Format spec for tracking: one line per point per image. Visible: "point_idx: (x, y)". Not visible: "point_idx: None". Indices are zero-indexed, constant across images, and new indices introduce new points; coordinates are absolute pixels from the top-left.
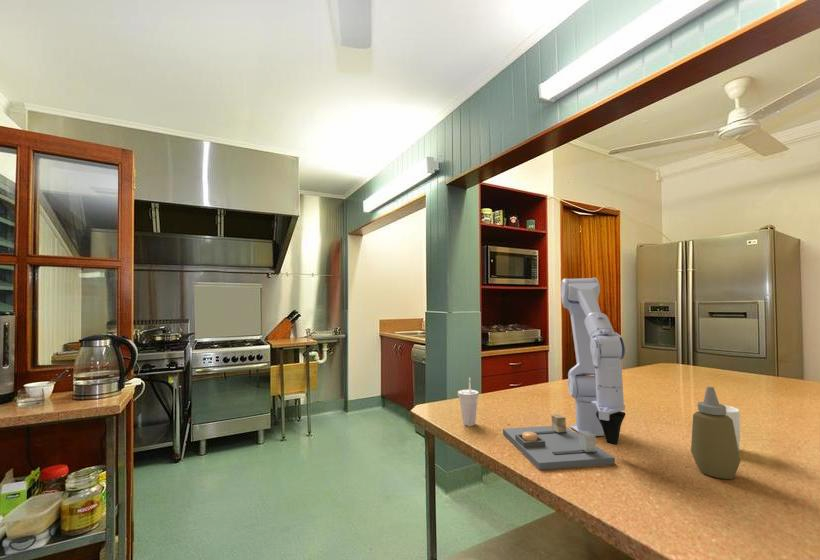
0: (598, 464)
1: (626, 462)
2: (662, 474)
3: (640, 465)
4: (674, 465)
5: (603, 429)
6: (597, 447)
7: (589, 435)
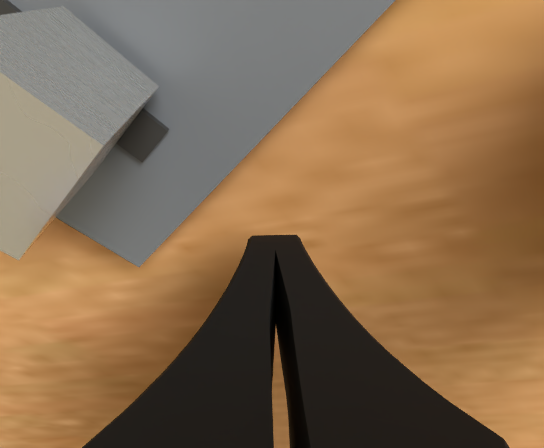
0: None
1: (229, 275)
2: None
3: None
4: None
5: (209, 316)
6: (248, 138)
7: None
